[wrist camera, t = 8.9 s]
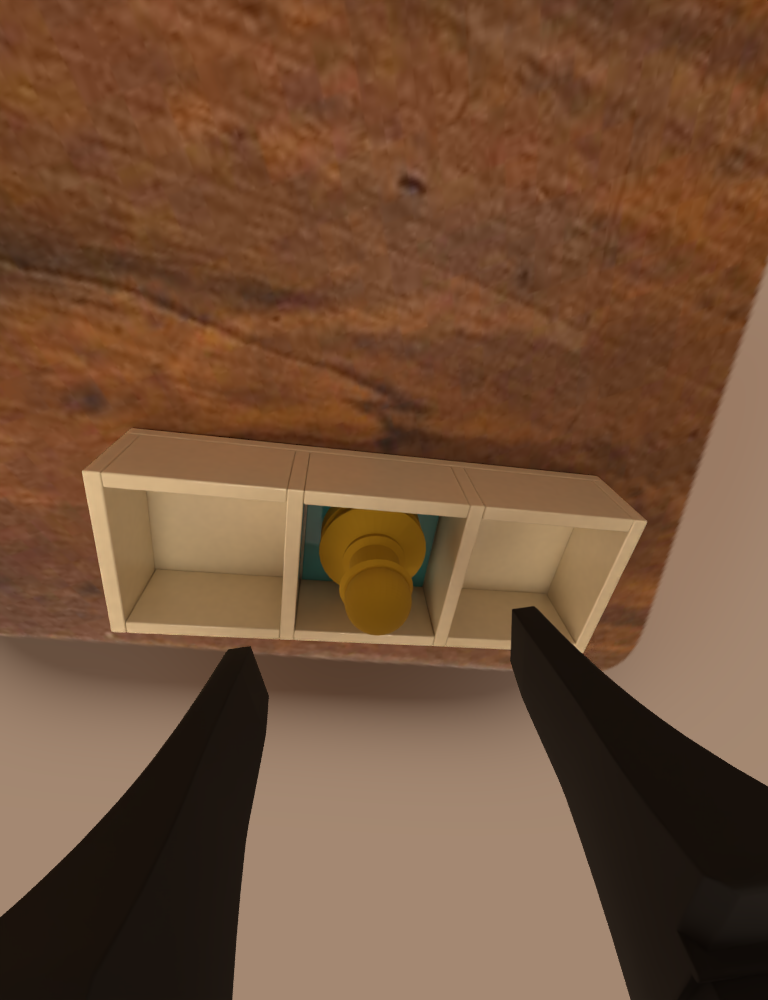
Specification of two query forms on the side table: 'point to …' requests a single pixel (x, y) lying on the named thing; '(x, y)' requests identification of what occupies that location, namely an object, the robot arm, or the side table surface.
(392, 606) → the chess piece
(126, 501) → the three-compartment organizer
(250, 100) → the side table surface
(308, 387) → the side table surface
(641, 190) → the side table surface
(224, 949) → the robot arm
